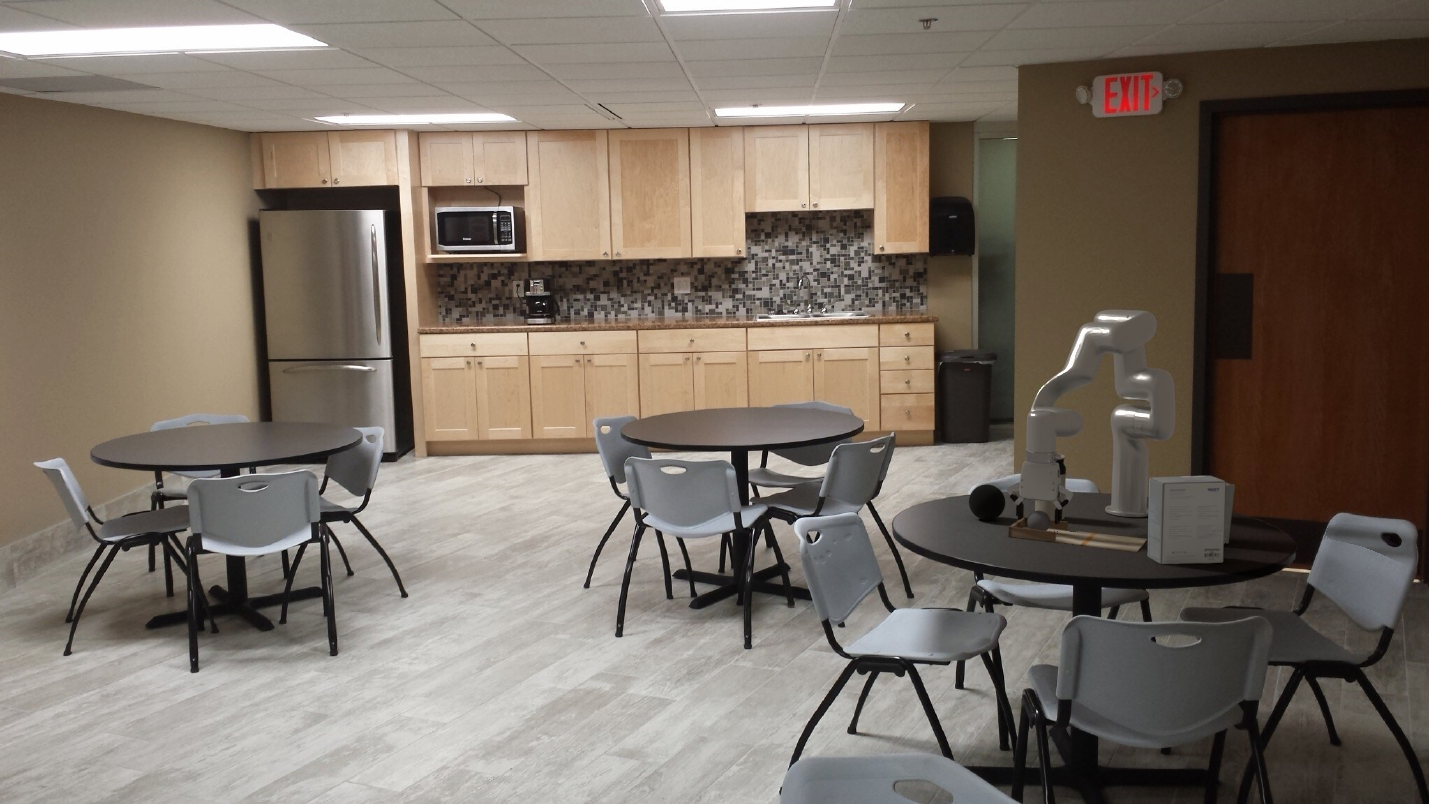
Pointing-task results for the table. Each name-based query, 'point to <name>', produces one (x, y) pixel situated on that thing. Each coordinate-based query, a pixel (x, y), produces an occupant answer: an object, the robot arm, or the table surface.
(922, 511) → the table surface
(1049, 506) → the travel mug
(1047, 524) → the rubber ball
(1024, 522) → the mat
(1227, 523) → the skincare box
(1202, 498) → the hard drive box
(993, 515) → the decorative ball
